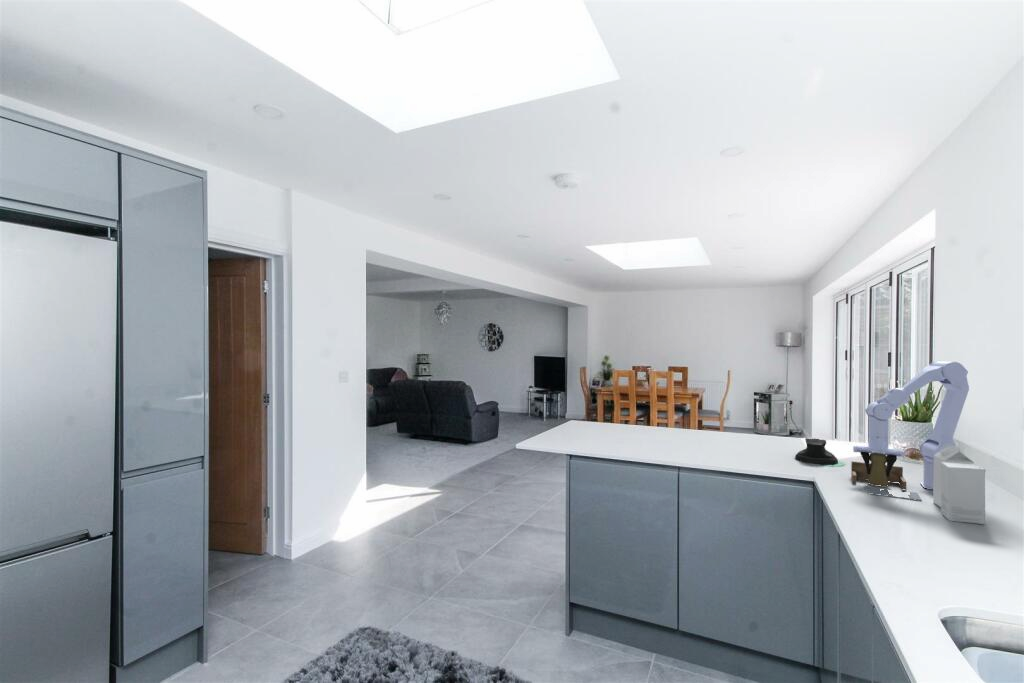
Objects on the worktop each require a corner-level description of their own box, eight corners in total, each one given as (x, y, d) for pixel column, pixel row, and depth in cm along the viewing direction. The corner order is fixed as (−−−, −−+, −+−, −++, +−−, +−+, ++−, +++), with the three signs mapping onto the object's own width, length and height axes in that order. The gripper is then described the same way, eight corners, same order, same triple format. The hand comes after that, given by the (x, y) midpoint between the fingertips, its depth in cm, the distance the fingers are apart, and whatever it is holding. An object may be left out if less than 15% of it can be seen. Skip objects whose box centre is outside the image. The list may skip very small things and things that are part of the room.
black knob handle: (780, 455, 220) (780, 434, 220) (824, 456, 220) (824, 435, 220) (808, 467, 200) (808, 444, 200) (856, 467, 201) (856, 444, 201)
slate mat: (917, 493, 165) (917, 492, 165) (921, 501, 157) (921, 499, 157) (865, 486, 172) (865, 485, 172) (867, 493, 165) (867, 492, 165)
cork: (892, 487, 172) (892, 455, 172) (872, 486, 173) (873, 454, 173) (882, 482, 178) (883, 451, 178) (864, 481, 179) (864, 451, 179)
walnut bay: (902, 483, 177) (902, 466, 177) (906, 490, 168) (906, 473, 168) (851, 477, 185) (851, 461, 185) (852, 483, 176) (853, 466, 176)
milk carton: (960, 505, 154) (961, 444, 154) (973, 512, 147) (974, 448, 147) (932, 502, 156) (933, 442, 156) (944, 510, 149) (944, 447, 149)
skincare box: (976, 518, 143) (976, 464, 143) (986, 525, 137) (987, 469, 136) (939, 513, 146) (940, 460, 146) (948, 521, 140) (948, 466, 140)
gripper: (854, 435, 176) (853, 474, 176) (906, 440, 168) (905, 480, 169) (853, 432, 182) (852, 469, 182) (903, 437, 174) (902, 475, 175)
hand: (877, 474), depth 176 cm, fingers closed on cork, 5 cm apart
